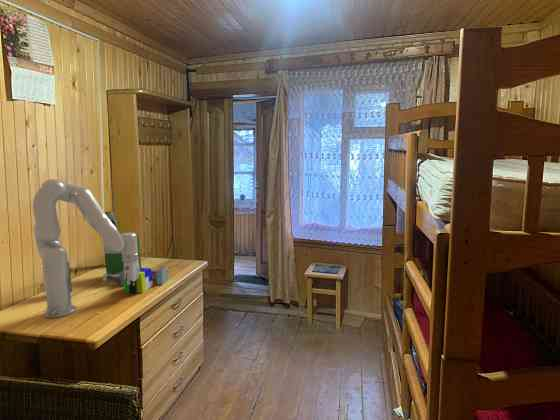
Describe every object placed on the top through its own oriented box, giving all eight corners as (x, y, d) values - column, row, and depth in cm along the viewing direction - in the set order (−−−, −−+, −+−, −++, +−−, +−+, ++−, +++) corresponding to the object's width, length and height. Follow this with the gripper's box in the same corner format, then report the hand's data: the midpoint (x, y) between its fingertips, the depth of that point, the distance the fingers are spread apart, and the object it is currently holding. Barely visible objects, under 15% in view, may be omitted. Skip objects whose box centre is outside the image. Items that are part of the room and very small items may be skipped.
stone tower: (116, 267, 244) (111, 213, 239) (100, 266, 246) (95, 212, 242) (125, 263, 252) (120, 211, 247) (109, 262, 255) (105, 210, 250)
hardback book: (141, 274, 227) (138, 235, 223) (136, 278, 219) (132, 237, 216) (113, 274, 228) (110, 235, 225) (106, 278, 221) (103, 237, 218)
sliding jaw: (125, 285, 207) (124, 271, 206) (102, 286, 206) (101, 272, 205) (131, 280, 216) (130, 266, 215) (109, 281, 215) (108, 267, 214)
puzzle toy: (152, 286, 206) (151, 268, 204) (142, 292, 196) (141, 274, 194) (135, 285, 207) (134, 267, 206) (124, 292, 198) (123, 273, 196)
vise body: (162, 284, 207) (161, 270, 206) (106, 286, 207) (105, 272, 205) (168, 278, 219) (167, 264, 218) (115, 280, 218) (114, 266, 217)
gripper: (132, 261, 183) (135, 298, 186) (142, 253, 198) (145, 287, 200) (116, 261, 183) (119, 298, 186) (128, 253, 198) (131, 288, 200)
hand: (133, 292), depth 193 cm, fingers closed
